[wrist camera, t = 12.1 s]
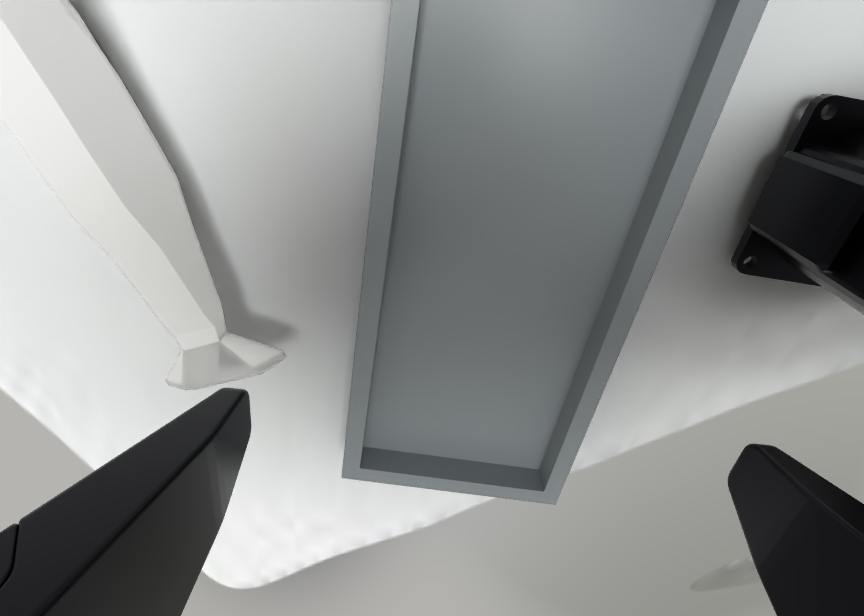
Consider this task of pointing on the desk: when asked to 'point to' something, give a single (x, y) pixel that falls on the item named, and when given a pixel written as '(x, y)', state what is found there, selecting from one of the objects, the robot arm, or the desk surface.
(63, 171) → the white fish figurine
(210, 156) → the desk surface
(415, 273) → the razor tray
